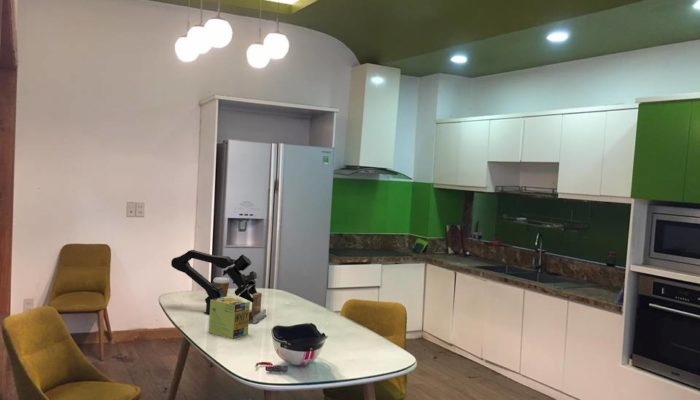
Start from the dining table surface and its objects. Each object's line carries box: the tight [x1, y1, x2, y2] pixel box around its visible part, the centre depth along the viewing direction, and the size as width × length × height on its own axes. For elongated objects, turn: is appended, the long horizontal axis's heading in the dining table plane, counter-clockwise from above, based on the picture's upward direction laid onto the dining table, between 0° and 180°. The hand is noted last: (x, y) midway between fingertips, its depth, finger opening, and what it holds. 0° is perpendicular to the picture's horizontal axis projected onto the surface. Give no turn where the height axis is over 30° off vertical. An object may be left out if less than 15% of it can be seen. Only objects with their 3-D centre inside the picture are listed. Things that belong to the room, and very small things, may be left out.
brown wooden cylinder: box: [213, 276, 231, 297], centre depth 338 cm, size 10×10×12 cm
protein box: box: [208, 296, 251, 340], centre depth 268 cm, size 10×15×16 cm
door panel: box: [251, 291, 262, 318], centre depth 299 cm, size 3×6×12 cm, turn 172°
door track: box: [249, 308, 267, 325], centre depth 296 cm, size 8×18×4 cm, turn 172°
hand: (255, 300), depth 299 cm, fingers open, 9 cm apart
